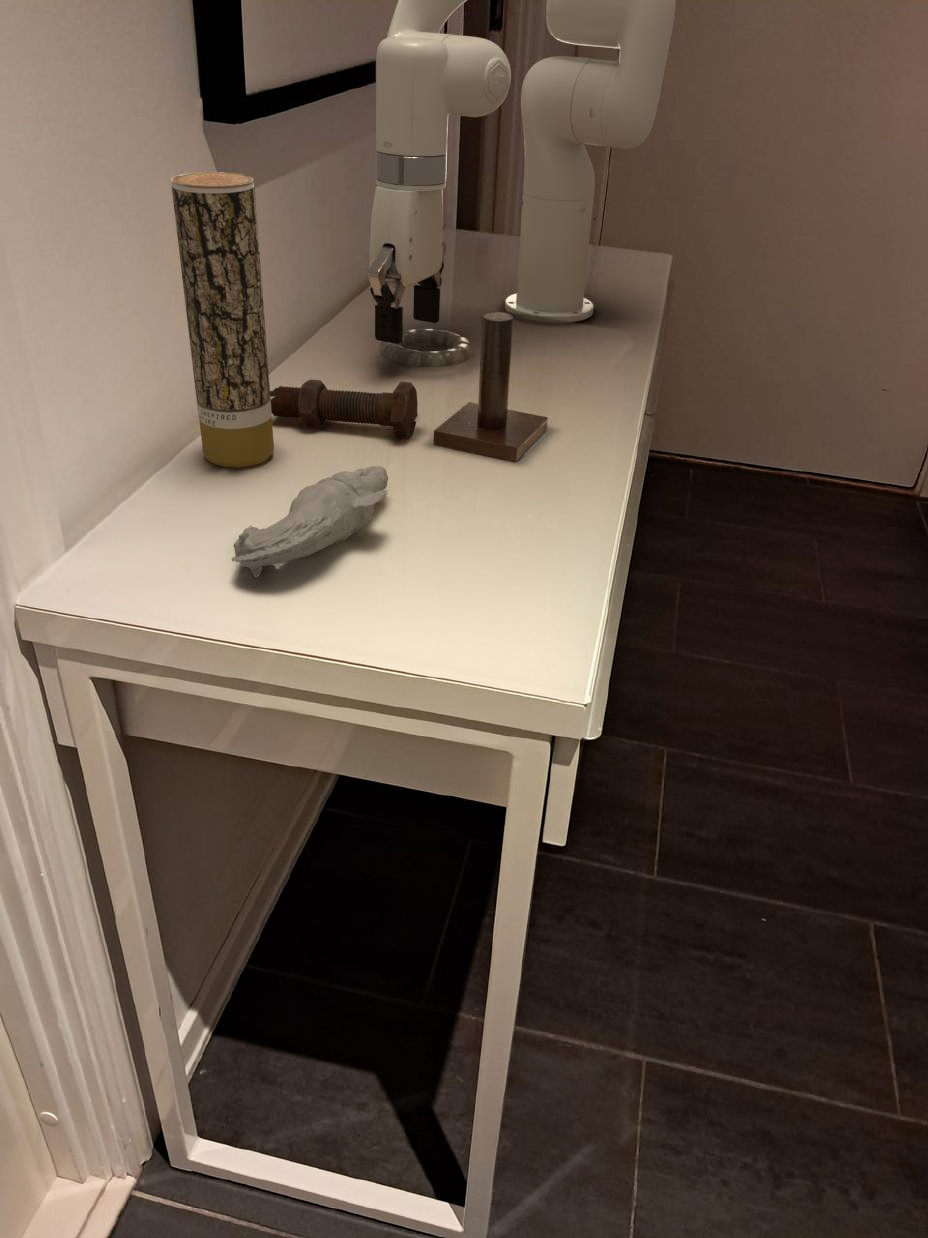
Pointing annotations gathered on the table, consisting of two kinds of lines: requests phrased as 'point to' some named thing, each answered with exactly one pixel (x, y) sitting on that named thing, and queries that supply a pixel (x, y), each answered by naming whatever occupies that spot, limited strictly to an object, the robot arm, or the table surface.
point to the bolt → (348, 406)
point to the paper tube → (225, 314)
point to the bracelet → (454, 355)
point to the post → (492, 403)
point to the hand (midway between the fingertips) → (408, 330)
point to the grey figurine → (315, 519)
